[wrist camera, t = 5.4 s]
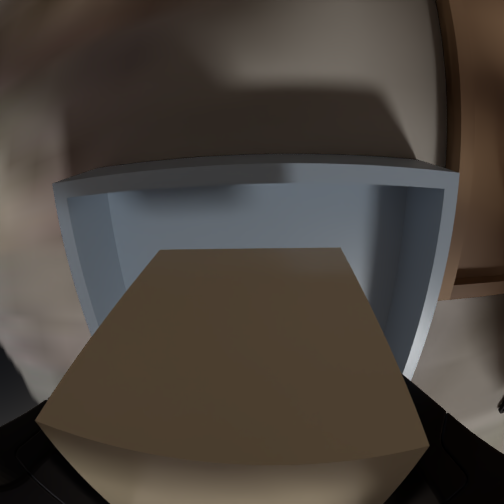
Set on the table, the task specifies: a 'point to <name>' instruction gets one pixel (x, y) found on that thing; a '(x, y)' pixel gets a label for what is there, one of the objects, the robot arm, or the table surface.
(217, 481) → the tan rectangular block
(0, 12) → the table surface
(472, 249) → the walnut caddy
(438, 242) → the slate bin
